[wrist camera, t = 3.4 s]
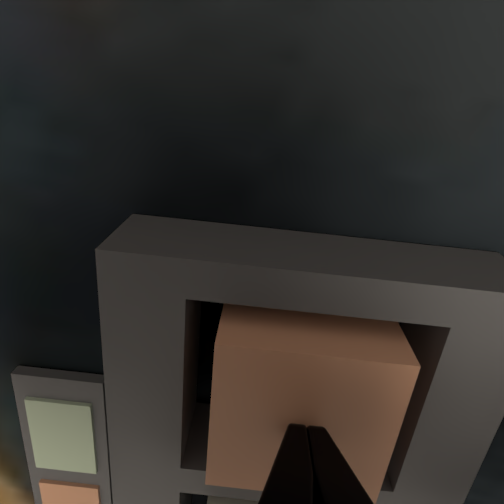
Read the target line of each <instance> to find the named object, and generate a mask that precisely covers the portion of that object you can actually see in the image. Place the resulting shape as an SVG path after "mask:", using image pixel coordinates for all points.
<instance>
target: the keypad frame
mask: <svg viewBox="0 0 504 504" xmlns="http://www.w3.org/2000/svg"><path fill="white" fill-rule="evenodd" d="M95 256H96V271H97V285H98V299H99V313H100V327H101V342H102V356H103V370H104V384H105V399H106V413H107V427H108V441H109V455H110V470H111V484H112V498H113V504H191V501H192V494H200V495H208V496H217V497H226V498H235V499H244V500H253V501H259V499H260V497H261V494H262V492H263V491H258V490H249V489H240V488H231V487H222V486H213V485H205V478H206V463H207V448H208V434H209V419H210V404H207V403H198V402H196V398H197V378H198V357H199V337H200V317H201V301H208V302H217V303H226V304H236V305H245V306H254V307H264V308H273V309H282V310H292V311H301V312H310V313H319V314H329V315H338V316H347V317H357V318H366V319H375V320H385V321H394V322H402V323H401V329H402V331H403V333H404V335H405V337H406V339H407V341H408V343H409V344H410V346H411V348H412V350H413V352H414V354H415V356H416V358H417V360H418V362H419V364H420V366H421V368H420V371H419V374H418V377H417V380H416V383H415V386H414V389H413V392H412V395H411V398H410V401H409V404H408V407H407V410H406V413H405V416H404V419H403V422H402V425H401V429H400V432H399V435H398V438H397V441H396V444H395V447H394V450H393V453H392V456H391V459H390V462H389V465H388V468H387V471H386V474H385V477H384V480H383V483H382V486H381V489H380V492H379V495H378V498H377V501H376V504H463V503H464V501H465V499H466V497H467V494H468V492H469V490H470V488H471V486H472V484H473V481H474V479H475V477H476V475H477V473H478V471H479V468H480V466H481V464H482V462H483V460H484V458H485V455H486V453H487V451H488V449H489V447H490V445H491V442H492V440H493V438H494V436H495V434H496V432H497V429H498V427H499V425H500V423H501V421H502V419H503V416H504V257H503V256H502V255H501V254H499V253H498V252H491V251H481V250H472V249H462V248H453V247H443V246H434V245H424V244H415V243H405V242H396V241H386V240H377V239H367V238H358V237H348V236H339V235H330V234H320V233H311V232H301V231H292V230H282V229H273V228H263V227H254V226H244V225H235V224H225V223H216V222H206V221H197V220H187V219H178V218H168V217H159V216H150V215H140V214H132V215H131V216H130V217H129V218H128V219H127V220H125V221H124V222H123V223H122V224H121V225H120V226H119V227H118V228H117V229H116V230H115V231H114V232H113V233H112V234H111V235H110V236H109V237H107V238H106V239H105V240H104V241H103V242H102V243H101V244H100V245H99V246H98V247H97V248H96V249H95Z"/></svg>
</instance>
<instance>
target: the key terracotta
mask: <svg viewBox="0 0 504 504" xmlns="http://www.w3.org/2000/svg"><path fill="white" fill-rule="evenodd" d="M420 368H421V366H420V364H419V362H418V360H417V358H416V356H415V354H414V352H413V350H412V348H411V346H410V344H409V343H408V341H407V339H406V337H405V335H404V333H403V331H402V329H401V327H400V325H399V323H398V322H394V321H385V320H375V319H366V318H357V317H347V316H338V315H329V314H319V313H310V312H301V311H292V310H282V309H273V308H264V307H254V306H245V305H236V304H226V303H224V305H223V309H222V313H221V318H220V322H219V327H218V331H217V336H216V340H215V345H214V360H213V375H212V389H211V404H210V419H209V434H208V448H207V463H206V478H205V485H213V486H222V487H231V488H240V489H249V490H258V491H263V489H264V486H265V484H266V481H267V479H268V476H269V473H270V471H271V468H272V465H273V463H274V460H275V458H276V455H277V452H278V450H279V447H280V445H281V442H282V439H283V437H284V434H285V432H286V429H287V426H288V425H289V424H290V423H295V424H303V425H305V426H306V427H307V426H309V425H313V426H322V427H324V428H326V430H327V431H328V433H329V434H330V436H331V437H332V439H333V441H334V442H335V444H336V445H337V447H338V448H339V450H340V451H341V453H342V455H343V456H344V458H345V459H346V461H347V462H348V464H349V466H350V467H351V469H352V470H353V472H354V473H355V475H356V477H357V478H358V480H359V481H360V483H361V484H362V486H363V488H364V489H365V491H366V492H367V494H368V495H369V497H370V498H371V500H372V502H373V503H374V504H376V501H377V498H378V495H379V492H380V489H381V486H382V483H383V480H384V477H385V474H386V471H387V468H388V465H389V462H390V459H391V456H392V453H393V450H394V447H395V444H396V441H397V438H398V435H399V432H400V429H401V425H402V422H403V419H404V416H405V413H406V410H407V407H408V404H409V401H410V398H411V395H412V392H413V389H414V386H415V383H416V380H417V377H418V374H419V371H420Z"/></svg>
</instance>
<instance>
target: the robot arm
mask: <svg viewBox="0 0 504 504" xmlns="http://www.w3.org/2000/svg"><path fill="white" fill-rule="evenodd" d="M258 504H374V503H373V502H372V500H371V498H370V497H369V495H368V494H367V492H366V491H365V489H364V488H363V486H362V484H361V483H360V481H359V480H358V478H357V477H356V475H355V473H354V472H353V470H352V469H351V467H350V466H349V464H348V462H347V461H346V459H345V458H344V456H343V455H342V453H341V451H340V450H339V448H338V447H337V445H336V444H335V442H334V441H333V439H332V437H331V436H330V434H329V433H328V431H327V430H326V428H324V427H322V426H313V425H309V426H307V427H306V426H305V425H303V424H295V423H290V424H289V425H288V426H287V429H286V432H285V434H284V437H283V439H282V442H281V445H280V447H279V450H278V452H277V455H276V458H275V460H274V463H273V465H272V468H271V471H270V473H269V476H268V479H267V481H266V484H265V486H264V489H263V492H262V494H261V497H260V499H259V502H258Z"/></svg>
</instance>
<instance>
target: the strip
mask: <svg viewBox="0 0 504 504" xmlns="http://www.w3.org/2000/svg"><path fill="white" fill-rule="evenodd" d="M11 378H12V383H13V389H14V394H15V399H16V404H17V410H18V415H19V420H20V426H21V431H22V436H23V442H24V447H25V452H26V458H27V463H28V468H29V473H30V479H31V484H32V489H33V495H34V500H35V504H113V498H112V484H111V470H110V455H109V441H108V427H107V413H106V399H105V384H104V375H100V374H91V373H82V372H73V371H64V370H55V369H46V368H36V367H27V366H17V367H16V368H15V369H14V370H13V372H12V373H11Z"/></svg>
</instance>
